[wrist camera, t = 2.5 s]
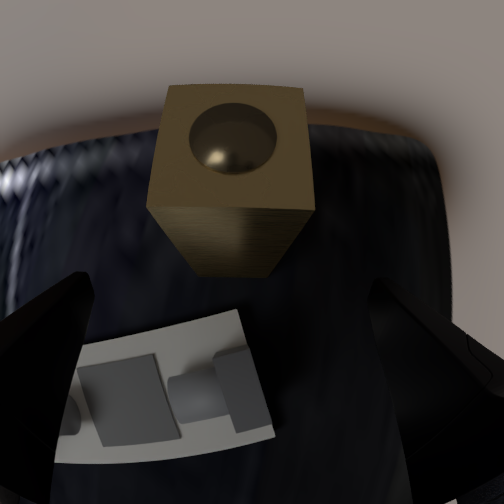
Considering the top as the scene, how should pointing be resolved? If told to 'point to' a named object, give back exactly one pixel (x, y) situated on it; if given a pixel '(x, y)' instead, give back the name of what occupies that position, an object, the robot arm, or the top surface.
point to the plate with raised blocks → (164, 395)
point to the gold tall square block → (232, 176)
